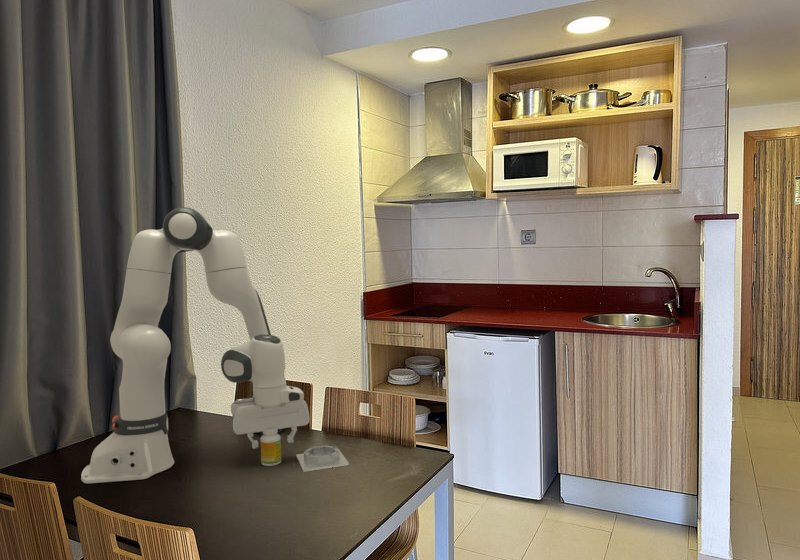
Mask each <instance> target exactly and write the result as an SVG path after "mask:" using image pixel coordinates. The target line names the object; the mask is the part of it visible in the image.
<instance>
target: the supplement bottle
mask: <svg viewBox="0 0 800 560" xmlns="http://www.w3.org/2000/svg"><path fill="white" fill-rule="evenodd" d="M277 432H278V429H277V428H272V429H265V430H264V431H263V434H261V436H260V438H259V439H260V440H259V441H260V442H259V443H260V463H261V465H263V466H265V467H274V466H277V465H279V464H281V463H282V442H281V441H282V440H281V439H282V437H281V435H280V434H279V432H278V433H277Z"/></svg>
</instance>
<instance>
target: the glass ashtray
mask: <svg viewBox="0 0 800 560" xmlns="http://www.w3.org/2000/svg"><path fill="white" fill-rule="evenodd" d="M295 456H296V457H295V458H296V459H297V461H298V463H299V465H300V467H301V469H302V471H303V472H304V473H305V472H311V471H319V470H326V469H331V468H332V467H333V468H340V467H346V466H349V465H350V462H349V461H348V460H347V458H346V457H345V456H344V454H343V453H342V452H341V450H340V449H339V448H338V447H337V446H331V445H326V444H325V445H319V446H318V445H317V446H316V445H315V446H312V447H309V448H308V449H306V450H304V451H303V453H298V454H295ZM333 468H332V469H333Z"/></svg>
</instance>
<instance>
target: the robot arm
mask: <svg viewBox="0 0 800 560" xmlns="http://www.w3.org/2000/svg"><path fill="white" fill-rule="evenodd" d="M132 241H133V242H132V243H131V244H132V245H131V247H130V250H129V254H128V260H127V264H126V272H125V278H124V285H123V292H122V293H123V294H122V297H121V302H120V306H119V309H118V312H117V316H116V319H115V323H114V327H113V330H112V331H111V333H110V334H111V335H110V342H109V343H110V346H111V349H112V351H113V353H114V354H115V355H116V356H117V357H118V358H119V359H121V360H122V374H121V375H122V376H121V380H120V385H119V388H118V393H119V411H120V412H119V413H120V415H114V416H113V417H112V421H111V423H112V433H111V434H110V435H109V436H108V437H106V438H104V440H103V441H101V442H100V443H99V444H98V445H96V446H95V448H94V449H93V451H92V454H91V458H90V463H89V464H87V465H86V466H85V467H84V468H83V470H82V472H81V475H80V476H81V477H80V480H81V482H83V484H98V483H112V482H124V481H137V480H138V481H139V480H146V479H149V478H150V477H152V476H154V475H156V474H158V473H162V472H163V471H166V470H168V469H170V468H172V466H173V465H174V464H175V459H174V457H173V454H172V450H171V447H170V443H169V437H168V433H169V417H168V413H167V411H166V400H165V399H166V397H165V395H166V394H165V379H166V371H167V365H168V358H169V356H170V354H171V349H172V348H171V347H172V346H171V345H172V344H171V341H170V338H169V337H168V336H167V334H166V333H165V332H164V331H163V329H161V328H160V327H159V322H160V321H161V316H162V314H163V311H164V308H165V307H166V306H167V304H168V298H169V291H170V286H171V285H170V284H171V277H172V269H173V263H174V258H175V256H176V254H180V253H184V252H193V251H195V252H198V253H199V254H200V255H201V258H202V261H203V266H204V273H205V277H206V284H207V287H208V291H209V292H210V295H211V296H212V297H214V299H216V300H217V301H219V302H220V303H223V304H227V305H229V306H232V307H234V308H235V309H237V310H238V311H240V313H241V314H242V316H243V319H244V323H245V326H246V330H247V333H248V337H249V341H248V342H246V343H244V344H242V345H239V346H236V347H233V348H230V349H229V350H226V351H225V352H224V353H223V355H222V358H221V361H220V368H221V372H222V374H223V376H224V378H226V380H228V382H231V383H234V384H235V383H237V384H238V383H243V382H251V383H252V392H253V393H252V394H253V395H252V396H254V397H252V396H250V397H245V398H238V399H236V400H235V401H233V402H232V403H231V405H230V413H231V415H232V416H233V419H232V428H233V429H232V430H233V433H234V434H235V435H238V436H240V435H246V436H247V438H248V439H249V440H250V442H251V447H252V449H253V450H256V449H259V441H258V439H254V438H253V437H254V433H258V432H262V431H264V430H265V429H272V428H277V429H282V428H283V429H286V428H287V429H288V428H290V429H291V431H290V433H289V435H286V441H287V443H288V444H292V443H293V444H294V437H295V434H296V433H297V431H298V427H303V426H307V425H308V424H309V423H310V412H309V407H308V403H307V402H306V401H305V400H304V399H305V393H304V391H303V390H302V389H301V388H299V387H296V386H290V385H287V381H286V376H285V371H286V356H285V350H284V344H283V342H282V340H281V338H279V337H278V336H277V335H273V334H271V330H270V326H269V323H268V320H267V317H266V312H265V309H264V305H263V302H262V300H261V297H260V294H259V292H258V291H257V290H256V288H254V286H253V283H252V281H251V278H250V276H249V272H248V267H247V261H246V257H245V253H244V251H243V250H244V249H243V247H242V244H241V242H240V239H239V237H238V235H237V234H236V233H235V232H233V231H231V230H227V229H218V230H216V229H213V228H212V226H211V225H210V224H209V222H208V220H207V219H206V217H205V216H204V215H203V214H202V213H201V212H199V211H197V210H196V209H194V208H191V207H187V206H185V207H184V206H183V207H181V206H180V207H177V208H174V209H172V210H171V211H170V212H168V213H167V214H166V215H165V217H164V220H163V222H162V227H161V229H153V228H152V229H145V230H140V231H139V232H138V233H137V234H136V235H135V236H134V239H133V240H132ZM253 401H254V402H253Z"/></svg>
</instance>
